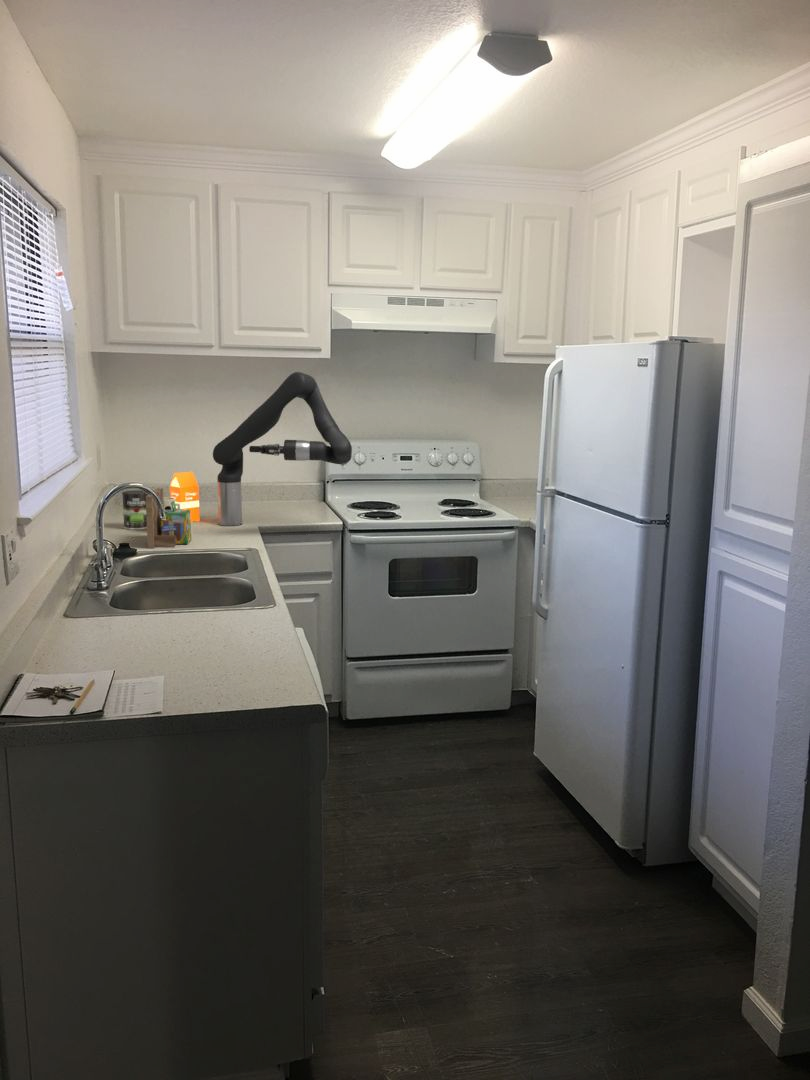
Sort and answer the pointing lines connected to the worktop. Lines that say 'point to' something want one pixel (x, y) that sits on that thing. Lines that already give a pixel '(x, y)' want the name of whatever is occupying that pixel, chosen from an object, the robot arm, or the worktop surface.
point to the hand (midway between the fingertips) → (249, 448)
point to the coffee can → (134, 510)
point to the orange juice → (186, 493)
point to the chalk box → (177, 524)
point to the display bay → (156, 523)
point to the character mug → (169, 503)
